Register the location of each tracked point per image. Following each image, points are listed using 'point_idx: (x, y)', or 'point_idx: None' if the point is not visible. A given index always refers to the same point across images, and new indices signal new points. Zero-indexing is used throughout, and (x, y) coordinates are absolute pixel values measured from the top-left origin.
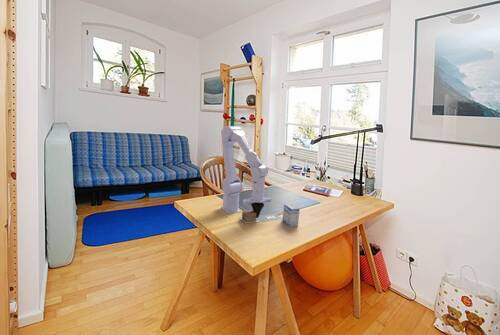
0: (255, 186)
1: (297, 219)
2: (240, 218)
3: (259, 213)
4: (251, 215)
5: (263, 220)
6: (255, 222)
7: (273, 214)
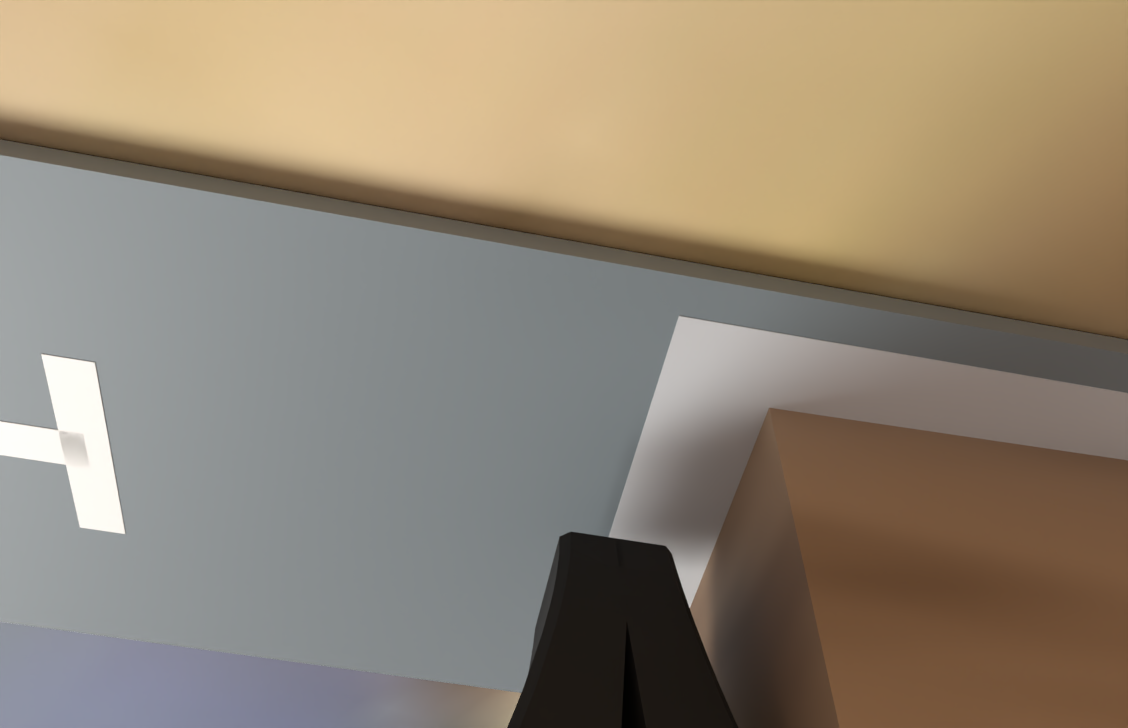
0: None
1: None
2: None
3: (551, 682)
4: (1099, 679)
5: (426, 330)
6: (888, 327)
7: None
